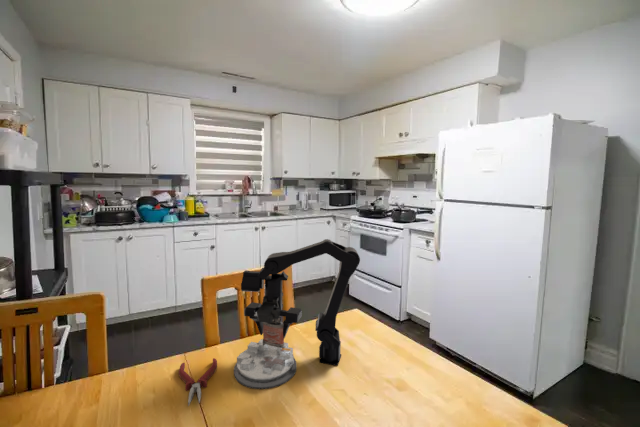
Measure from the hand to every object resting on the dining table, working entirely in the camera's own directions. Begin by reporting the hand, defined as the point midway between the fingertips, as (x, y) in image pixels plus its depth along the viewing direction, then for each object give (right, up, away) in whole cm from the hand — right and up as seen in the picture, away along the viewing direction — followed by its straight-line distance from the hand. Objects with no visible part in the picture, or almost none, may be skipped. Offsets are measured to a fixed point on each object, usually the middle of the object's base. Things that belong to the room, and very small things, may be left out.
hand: (272, 336), depth 108 cm
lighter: (0, -3, 0) cm, 3 cm away
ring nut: (-2, -7, -5) cm, 9 cm away
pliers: (-23, -10, -12) cm, 27 cm away
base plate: (-2, -9, -5) cm, 10 cm away
